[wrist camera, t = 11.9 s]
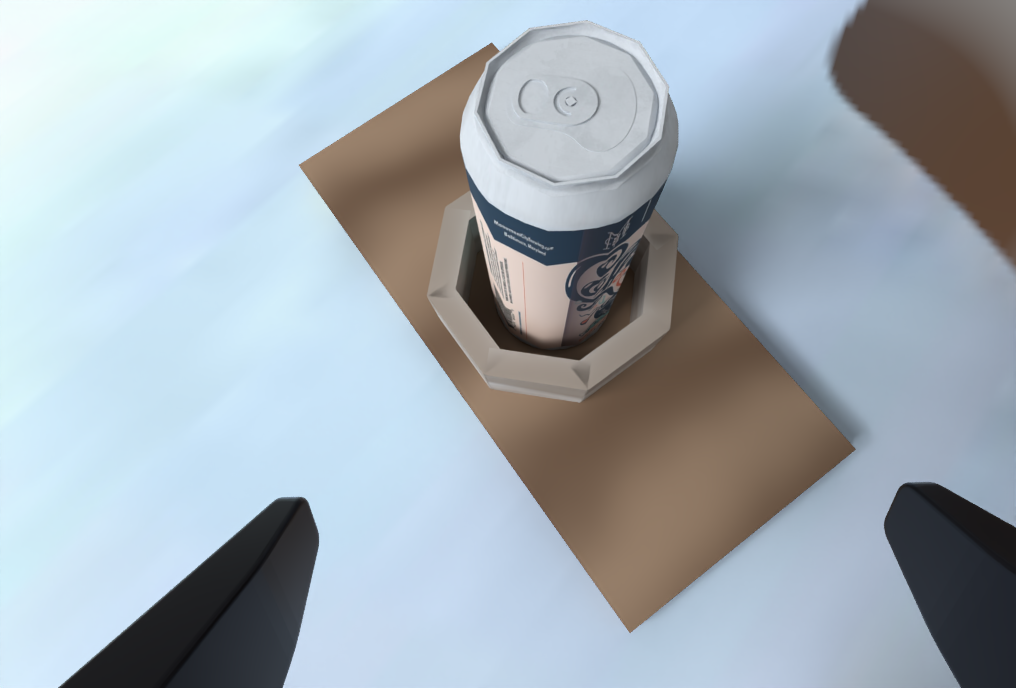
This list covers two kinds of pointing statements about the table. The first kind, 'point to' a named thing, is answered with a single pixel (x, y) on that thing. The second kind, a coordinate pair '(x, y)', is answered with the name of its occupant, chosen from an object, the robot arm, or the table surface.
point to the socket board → (634, 431)
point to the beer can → (565, 173)
